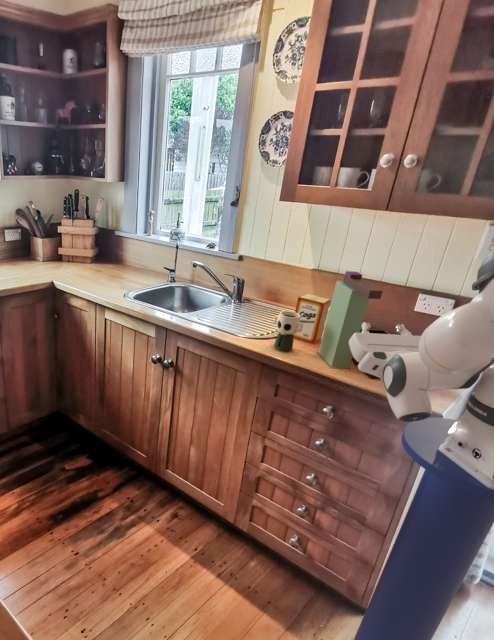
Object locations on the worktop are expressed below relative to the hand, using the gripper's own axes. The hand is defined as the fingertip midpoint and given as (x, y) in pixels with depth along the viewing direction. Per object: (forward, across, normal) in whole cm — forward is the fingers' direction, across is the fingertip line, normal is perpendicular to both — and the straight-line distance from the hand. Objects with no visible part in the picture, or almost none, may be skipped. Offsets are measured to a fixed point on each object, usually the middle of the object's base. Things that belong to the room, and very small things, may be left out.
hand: (382, 324), depth 129 cm
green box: (+9, 0, +29) cm, 31 cm away
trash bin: (+7, -14, +28) cm, 32 cm away
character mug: (+16, +14, +34) cm, 40 cm away
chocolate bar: (+18, 0, +4) cm, 18 cm away
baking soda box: (+26, +2, +40) cm, 48 cm away
